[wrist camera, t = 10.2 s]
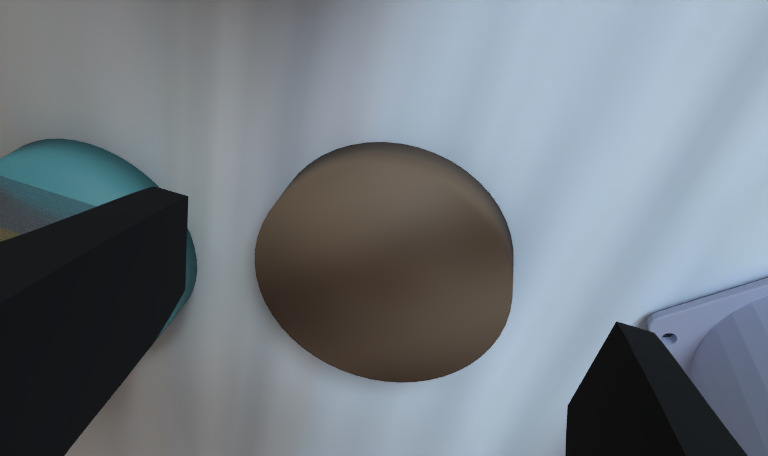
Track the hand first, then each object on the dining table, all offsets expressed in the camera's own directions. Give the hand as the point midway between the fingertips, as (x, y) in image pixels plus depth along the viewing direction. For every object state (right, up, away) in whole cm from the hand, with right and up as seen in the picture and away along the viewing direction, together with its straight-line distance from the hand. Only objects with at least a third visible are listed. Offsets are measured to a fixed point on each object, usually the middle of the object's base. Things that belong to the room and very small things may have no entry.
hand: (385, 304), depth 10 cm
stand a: (0, 0, +12) cm, 12 cm away
